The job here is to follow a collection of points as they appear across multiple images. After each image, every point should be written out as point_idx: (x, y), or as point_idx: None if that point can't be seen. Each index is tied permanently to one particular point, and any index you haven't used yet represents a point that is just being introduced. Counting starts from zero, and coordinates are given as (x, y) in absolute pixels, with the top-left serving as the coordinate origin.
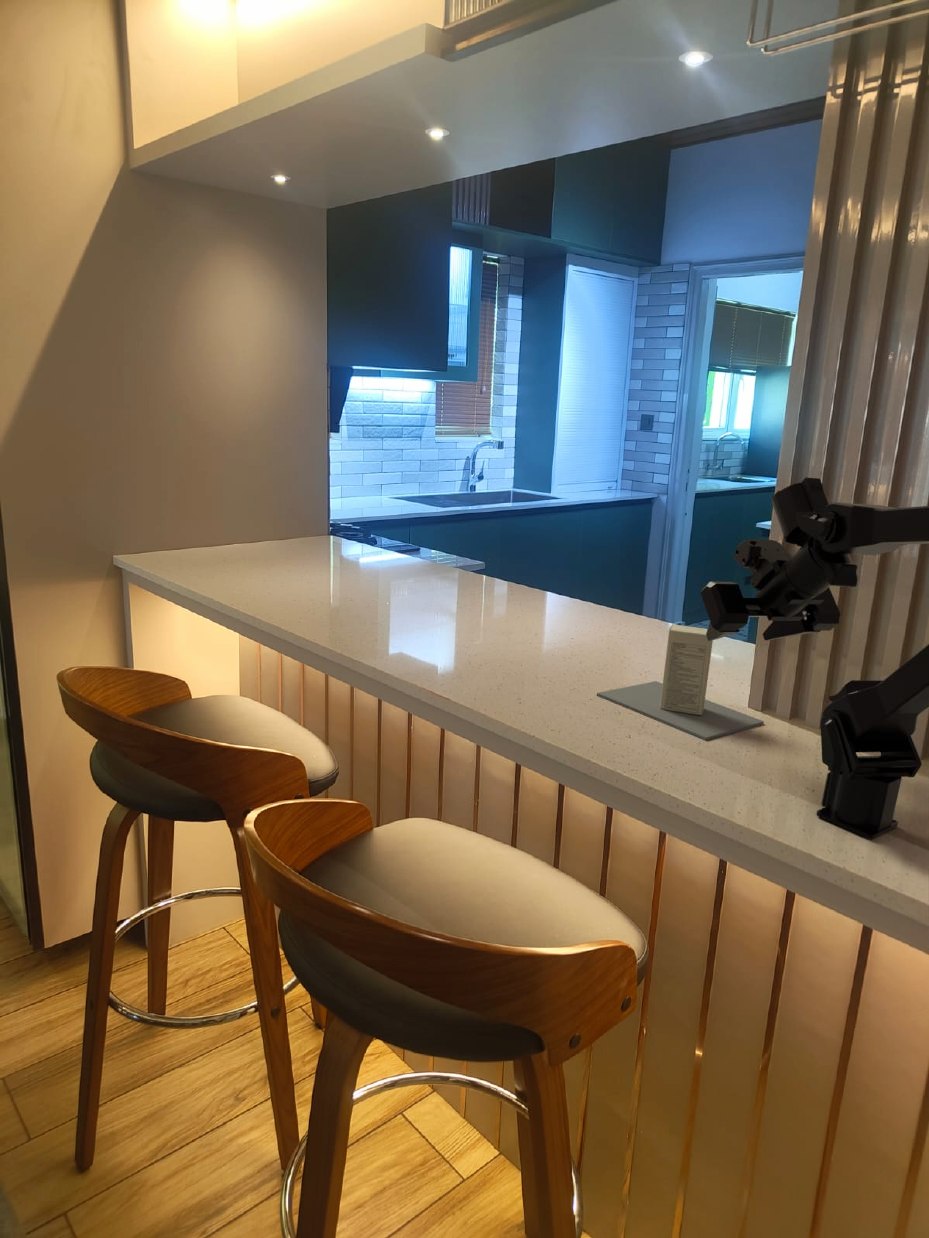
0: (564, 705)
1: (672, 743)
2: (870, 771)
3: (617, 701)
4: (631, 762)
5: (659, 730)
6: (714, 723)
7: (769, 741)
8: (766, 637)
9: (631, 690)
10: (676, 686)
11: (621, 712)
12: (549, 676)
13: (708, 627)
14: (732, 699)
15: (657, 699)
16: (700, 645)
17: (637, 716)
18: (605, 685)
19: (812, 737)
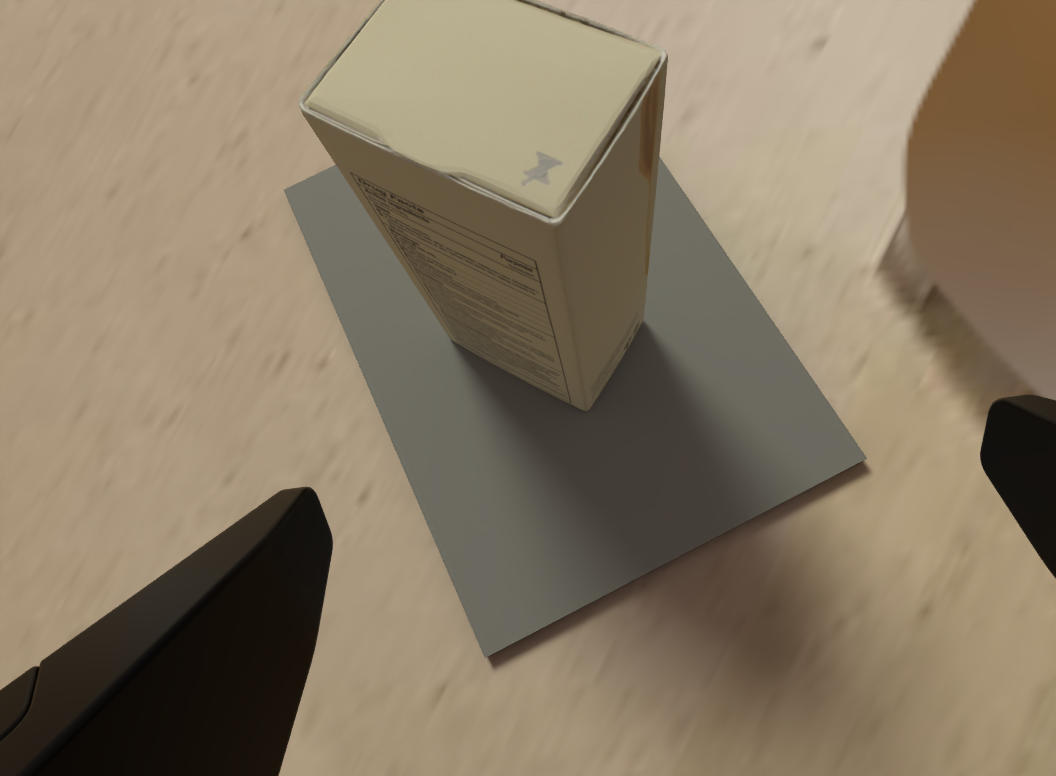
0: (119, 300)
1: (326, 687)
2: None
3: (317, 267)
4: None
5: (346, 542)
6: (607, 492)
7: (791, 673)
8: (1007, 473)
9: None
10: (466, 321)
11: (293, 357)
12: (215, 35)
13: (199, 555)
14: (845, 185)
15: None
16: (503, 242)
17: (334, 395)
18: None
19: (1048, 625)
